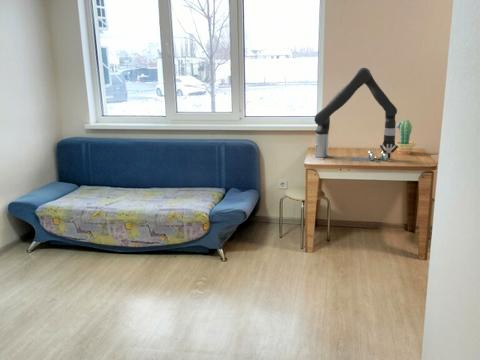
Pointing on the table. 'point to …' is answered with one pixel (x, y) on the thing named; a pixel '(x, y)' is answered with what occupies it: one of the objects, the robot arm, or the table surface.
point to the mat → (362, 159)
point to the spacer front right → (385, 157)
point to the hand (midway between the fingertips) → (388, 158)
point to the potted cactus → (404, 137)
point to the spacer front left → (372, 156)
